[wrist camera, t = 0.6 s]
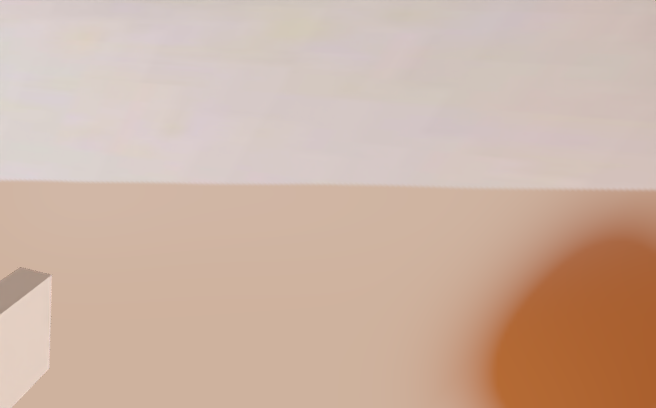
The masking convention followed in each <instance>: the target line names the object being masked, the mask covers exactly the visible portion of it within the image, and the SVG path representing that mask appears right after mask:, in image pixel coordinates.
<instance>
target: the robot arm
mask: <svg viewBox="0 0 656 408" xmlns="http://www.w3.org/2000/svg"><path fill="white" fill-rule="evenodd" d="M51 286H52V275H50V274H46V273H42V272H38V271H34V270H30V269H26V268H22V267H20V268H18V269H17V270H15V271H14V272H12V273H11V274H9V275H8V276H7V277H5V278H4V279H2V280H1V281H0V408H12V407H13V406H14V404H15V403H16V402H17V401H18V400H19V399H20V398H21V397H22V396H23V395H24V394H25V393H26V392H27V391H28V390H29V389H30V388H31V387H32V386H33V385H34V384H35V383H36V382H37V380H38V379H39V378H40V377H41V376H42V375H43V374H44V373H45V372H46V371H47V370H48V369H49V360H50V324H51V323H50V322H51Z"/></svg>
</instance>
